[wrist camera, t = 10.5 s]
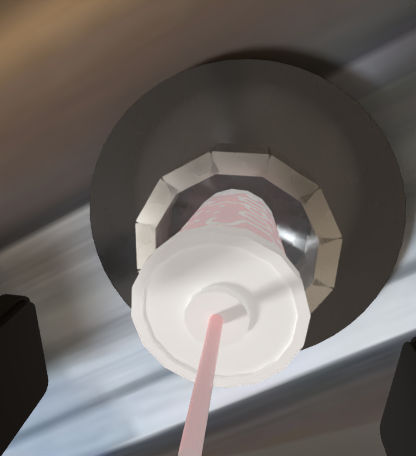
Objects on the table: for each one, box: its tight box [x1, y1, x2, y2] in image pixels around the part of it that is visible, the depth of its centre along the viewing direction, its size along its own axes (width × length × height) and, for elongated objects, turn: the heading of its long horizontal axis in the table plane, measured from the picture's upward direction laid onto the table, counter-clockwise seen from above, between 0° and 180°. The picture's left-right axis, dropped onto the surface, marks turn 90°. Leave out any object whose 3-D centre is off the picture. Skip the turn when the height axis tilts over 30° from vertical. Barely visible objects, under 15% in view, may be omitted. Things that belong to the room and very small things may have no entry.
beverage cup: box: [131, 189, 311, 456], centre depth 14 cm, size 6×6×14 cm
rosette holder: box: [90, 59, 406, 350], centre depth 19 cm, size 18×18×5 cm
